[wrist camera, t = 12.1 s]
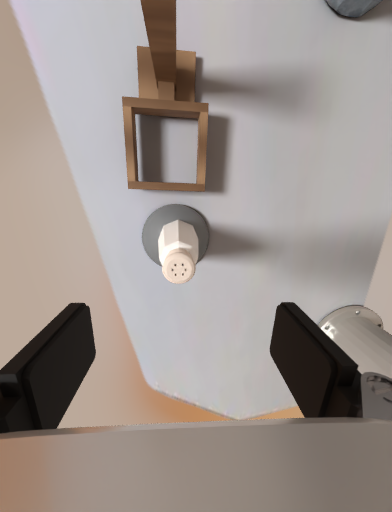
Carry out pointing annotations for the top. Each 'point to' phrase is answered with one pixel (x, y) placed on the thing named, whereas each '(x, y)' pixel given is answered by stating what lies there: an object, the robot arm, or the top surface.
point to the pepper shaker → (178, 251)
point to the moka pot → (353, 6)
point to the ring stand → (164, 91)
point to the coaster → (167, 216)
